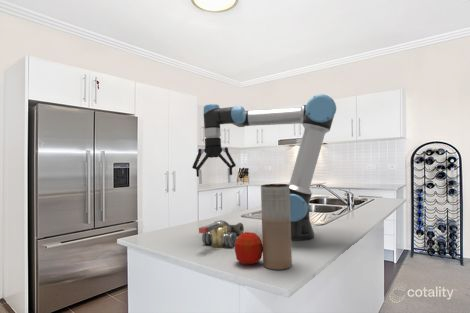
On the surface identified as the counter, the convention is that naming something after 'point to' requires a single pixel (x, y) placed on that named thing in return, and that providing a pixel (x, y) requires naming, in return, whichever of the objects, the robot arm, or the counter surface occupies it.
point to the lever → (211, 227)
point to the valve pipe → (219, 238)
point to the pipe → (234, 228)
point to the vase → (276, 226)
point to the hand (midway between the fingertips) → (214, 183)
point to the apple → (248, 248)
